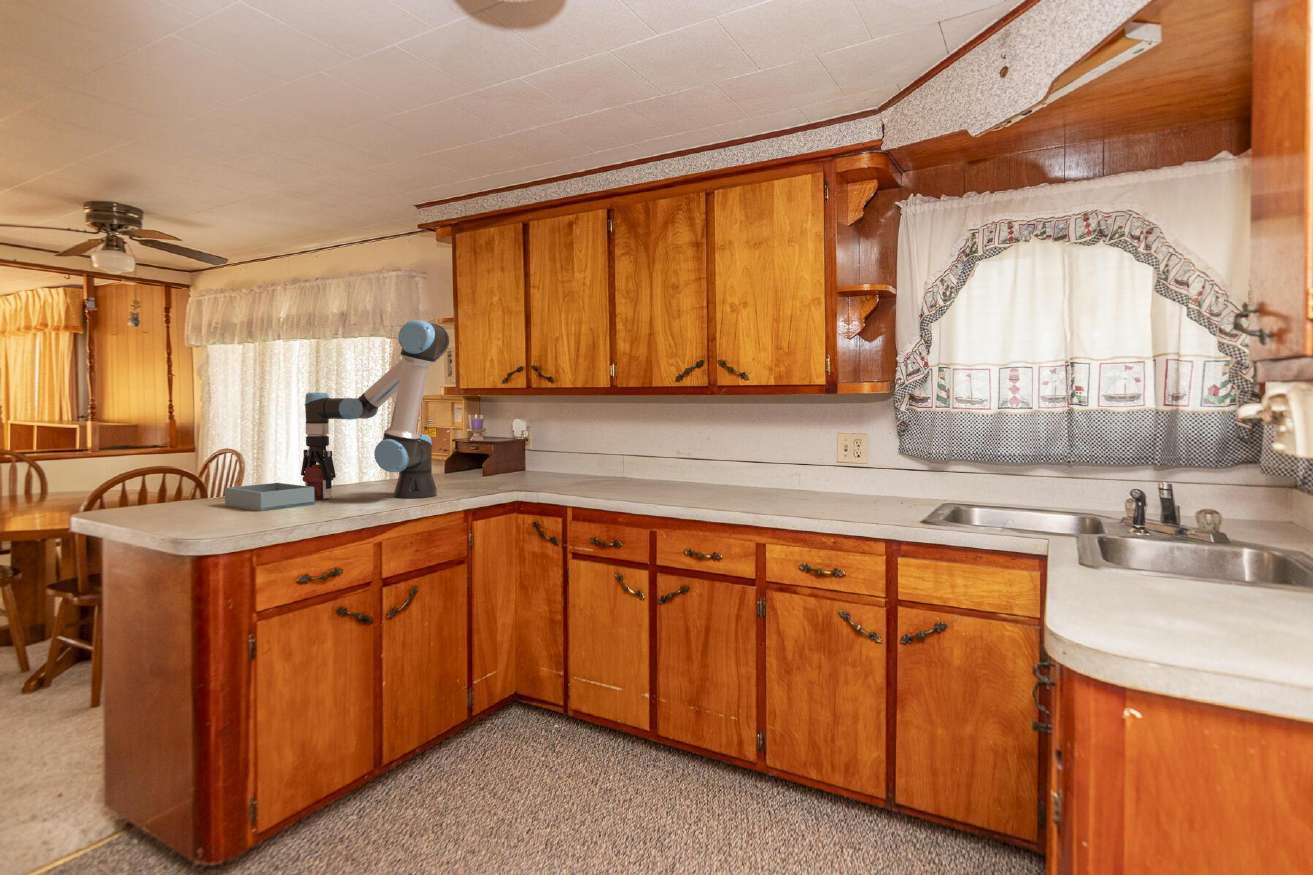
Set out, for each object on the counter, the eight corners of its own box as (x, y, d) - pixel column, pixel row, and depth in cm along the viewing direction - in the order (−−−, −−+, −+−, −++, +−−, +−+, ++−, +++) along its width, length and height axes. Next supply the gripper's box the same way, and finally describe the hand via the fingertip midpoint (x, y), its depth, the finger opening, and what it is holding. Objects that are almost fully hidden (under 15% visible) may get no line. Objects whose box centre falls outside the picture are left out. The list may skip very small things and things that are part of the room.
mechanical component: (314, 501, 241) (296, 499, 246) (339, 498, 250) (321, 496, 254) (314, 466, 240) (296, 465, 245) (339, 464, 249) (321, 463, 254)
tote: (314, 504, 234) (314, 487, 234) (261, 511, 218) (260, 492, 218) (278, 499, 245) (277, 482, 245) (225, 505, 230) (224, 487, 230)
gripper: (346, 435, 244) (347, 497, 245) (308, 434, 256) (309, 493, 257) (326, 436, 238) (327, 500, 239) (289, 434, 249) (290, 495, 250)
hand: (318, 496), depth 248 cm, fingers closed on mechanical component, 10 cm apart
